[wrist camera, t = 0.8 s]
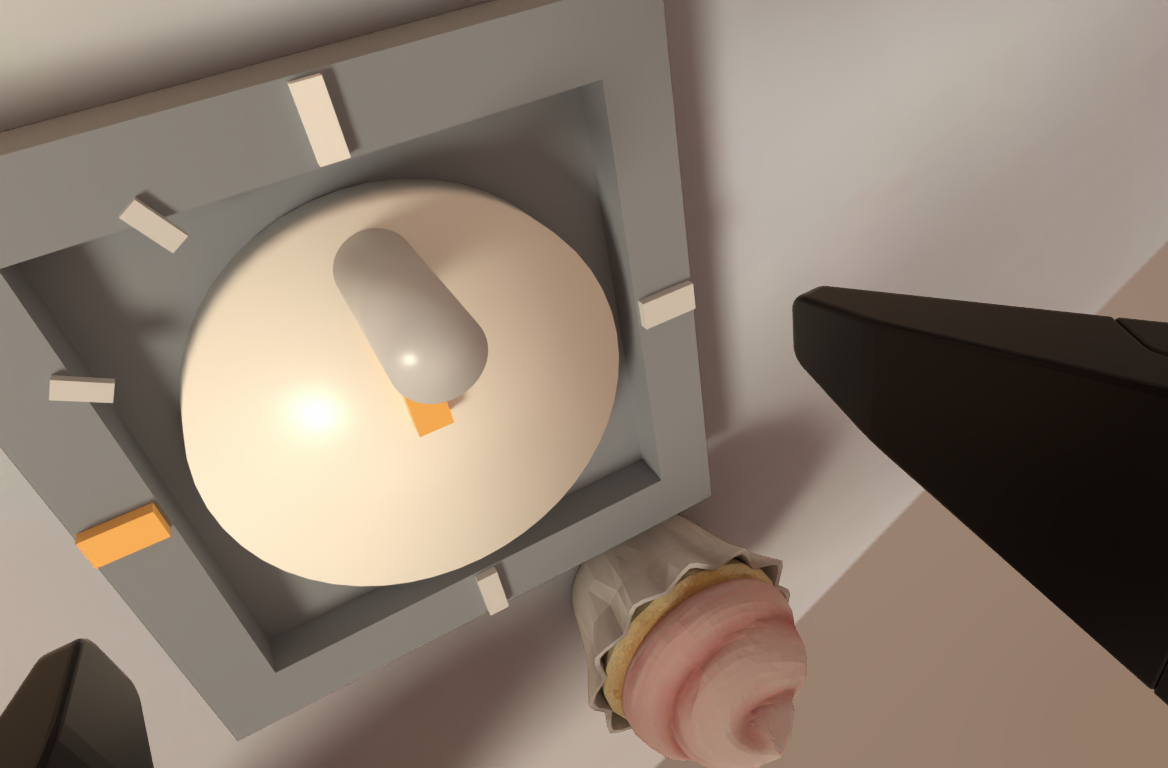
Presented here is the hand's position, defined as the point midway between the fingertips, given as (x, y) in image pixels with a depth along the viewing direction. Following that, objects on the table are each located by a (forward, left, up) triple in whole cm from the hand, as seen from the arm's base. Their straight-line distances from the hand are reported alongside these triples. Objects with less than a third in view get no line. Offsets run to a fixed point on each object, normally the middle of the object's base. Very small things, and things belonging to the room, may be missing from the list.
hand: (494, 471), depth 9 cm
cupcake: (-20, -7, -14) cm, 25 cm away
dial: (-6, -1, -13) cm, 14 cm away
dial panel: (-6, -1, -14) cm, 15 cm away
